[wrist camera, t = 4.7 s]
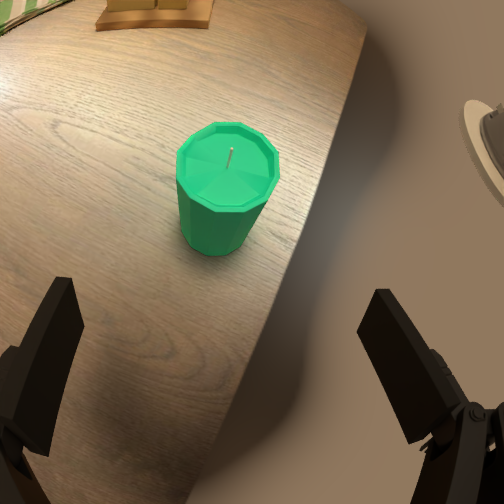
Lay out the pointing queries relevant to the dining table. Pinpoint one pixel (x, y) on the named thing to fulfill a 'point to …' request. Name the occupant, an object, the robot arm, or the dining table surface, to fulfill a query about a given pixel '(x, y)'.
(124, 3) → the butter block
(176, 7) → the butter slice
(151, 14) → the butter board
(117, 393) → the dining table surface
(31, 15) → the dish towel
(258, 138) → the candle
